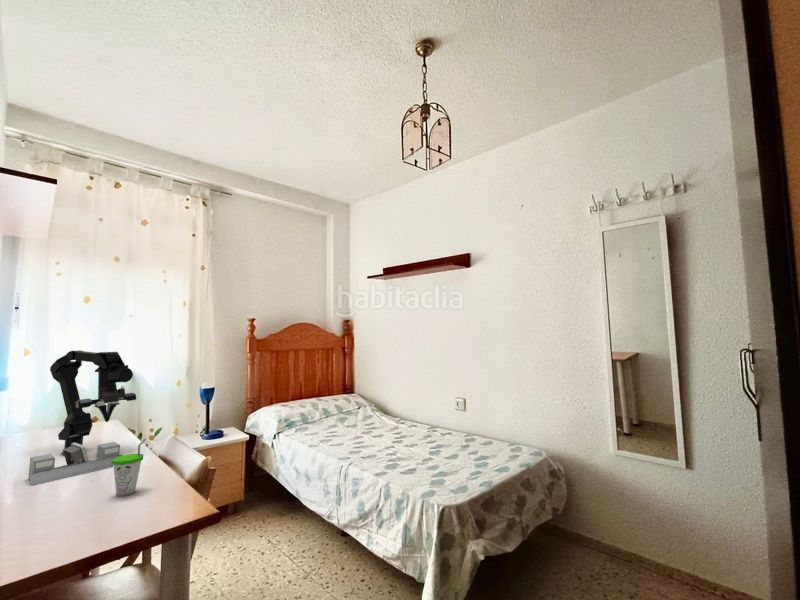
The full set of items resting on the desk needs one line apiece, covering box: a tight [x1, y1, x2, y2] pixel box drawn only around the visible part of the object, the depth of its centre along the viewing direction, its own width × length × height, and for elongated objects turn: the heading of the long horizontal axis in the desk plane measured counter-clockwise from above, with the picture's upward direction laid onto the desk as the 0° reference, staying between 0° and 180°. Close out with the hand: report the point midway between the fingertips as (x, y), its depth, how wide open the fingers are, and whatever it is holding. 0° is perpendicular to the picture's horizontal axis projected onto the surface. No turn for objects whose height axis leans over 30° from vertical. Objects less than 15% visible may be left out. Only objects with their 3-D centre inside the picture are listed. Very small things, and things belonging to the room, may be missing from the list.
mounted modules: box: [27, 441, 121, 482], centre depth 130 cm, size 7×23×7 cm, turn 142°
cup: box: [112, 438, 147, 497], centre depth 111 cm, size 8×8×15 cm
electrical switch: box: [62, 443, 90, 465], centre depth 132 cm, size 9×5×9 cm, turn 58°
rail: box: [29, 453, 123, 486], centre depth 128 cm, size 2×24×4 cm, turn 142°
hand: (106, 421), depth 150 cm, fingers closed
